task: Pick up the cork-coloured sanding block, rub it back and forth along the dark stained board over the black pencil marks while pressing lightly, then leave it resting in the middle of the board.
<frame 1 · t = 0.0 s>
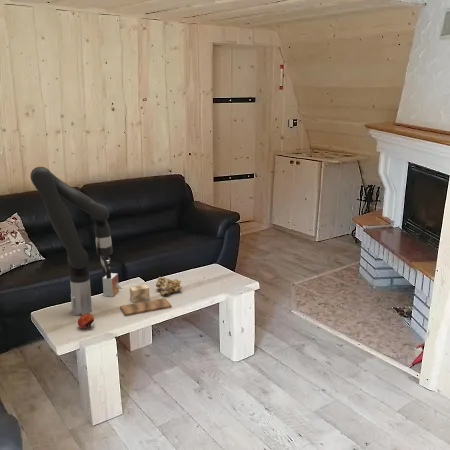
hand: (107, 275, 243), 17 cm above the table, tool pointing down, fingers open, 8 cm apart
sanding block: (140, 299, 256), on the table
mineral formation: (167, 291, 268), on the table
board: (145, 307, 247), on the table
pomegranate: (86, 328, 226), on the table
small box: (111, 294, 263), on the table
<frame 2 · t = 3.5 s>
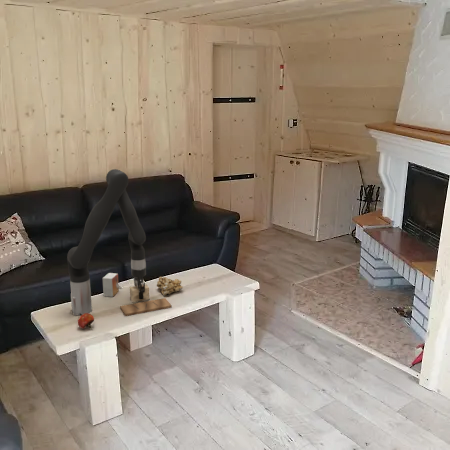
hand: (139, 296, 256), 2 cm above the table, tool pointing down, fingers closed on sanding block, 5 cm apart
sanding block: (139, 299, 256), on the table, touching gripper
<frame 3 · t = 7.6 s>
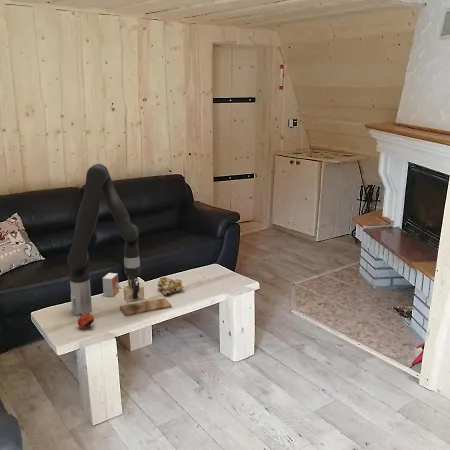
hand: (134, 296, 242), 7 cm above the table, tool pointing down, fingers closed on sanding block, 5 cm apart
sanding block: (134, 299, 243), point 6 cm above the table, touching gripper
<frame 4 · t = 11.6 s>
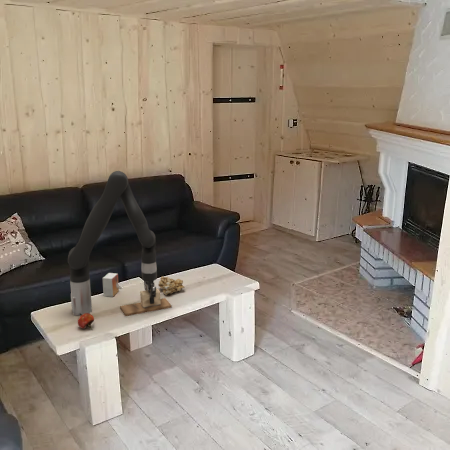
hand: (150, 301, 247), 3 cm above the table, tool pointing down, fingers closed on sanding block, 5 cm apart
sanding block: (150, 304, 247), point 2 cm above the table, touching gripper
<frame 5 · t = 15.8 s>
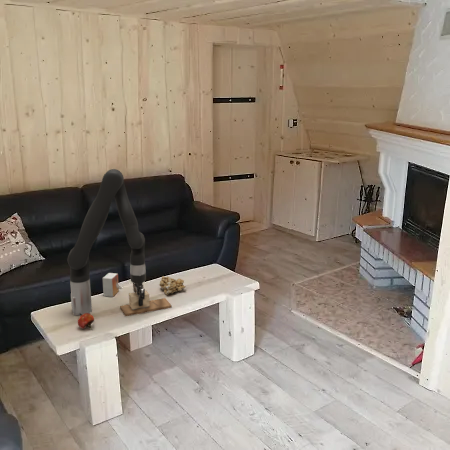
hand: (139, 303, 244), 3 cm above the table, tool pointing down, fingers closed on sanding block, 5 cm apart
sanding block: (139, 306, 245), point 1 cm above the table, touching gripper
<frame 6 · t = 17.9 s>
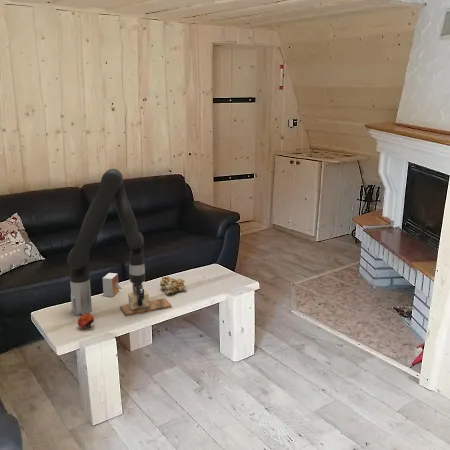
hand: (138, 303, 244), 3 cm above the table, tool pointing down, fingers closed on sanding block, 5 cm apart
sanding block: (139, 306, 245), point 2 cm above the table, touching gripper
when the fingers open (4 cm above the table, at t = 19.8 s): sanding block stays where it is, resting on board.
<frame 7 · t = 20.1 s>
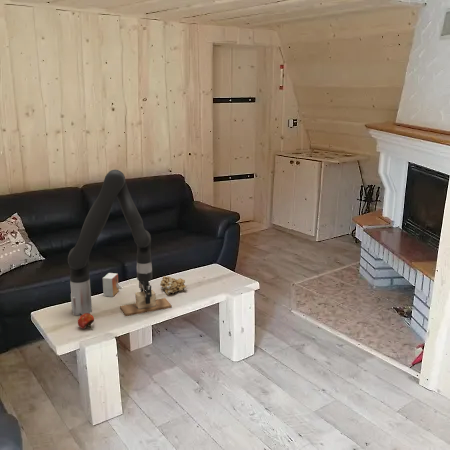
hand: (145, 300, 245), 4 cm above the table, tool pointing down, fingers open, 7 cm apart
sanding block: (145, 305, 246), point 1 cm above the table, touching board
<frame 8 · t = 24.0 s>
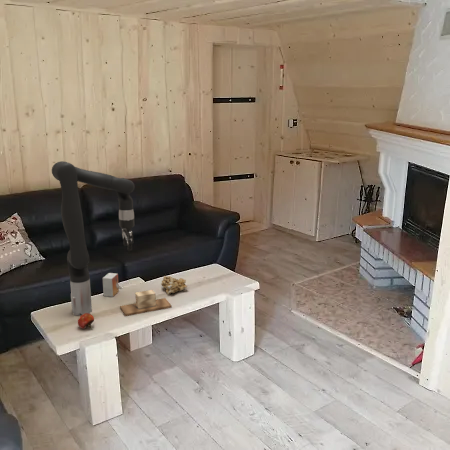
hand: (128, 248, 250), 28 cm above the table, tool pointing down, fingers open, 8 cm apart
at the end: sanding block inside the target area (0.0 cm from its centre), point 1.2 cm above the table; sanding block tilted 0°; the gripper is holding nothing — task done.
